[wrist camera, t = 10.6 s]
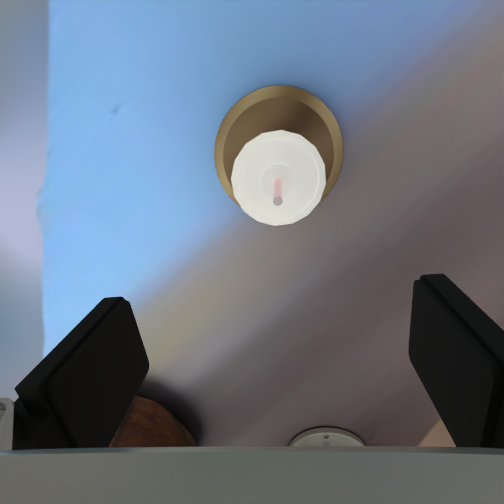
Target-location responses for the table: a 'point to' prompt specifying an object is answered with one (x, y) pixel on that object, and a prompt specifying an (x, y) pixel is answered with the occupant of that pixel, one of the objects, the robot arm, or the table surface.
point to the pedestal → (278, 118)
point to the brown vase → (150, 427)
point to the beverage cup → (278, 177)
